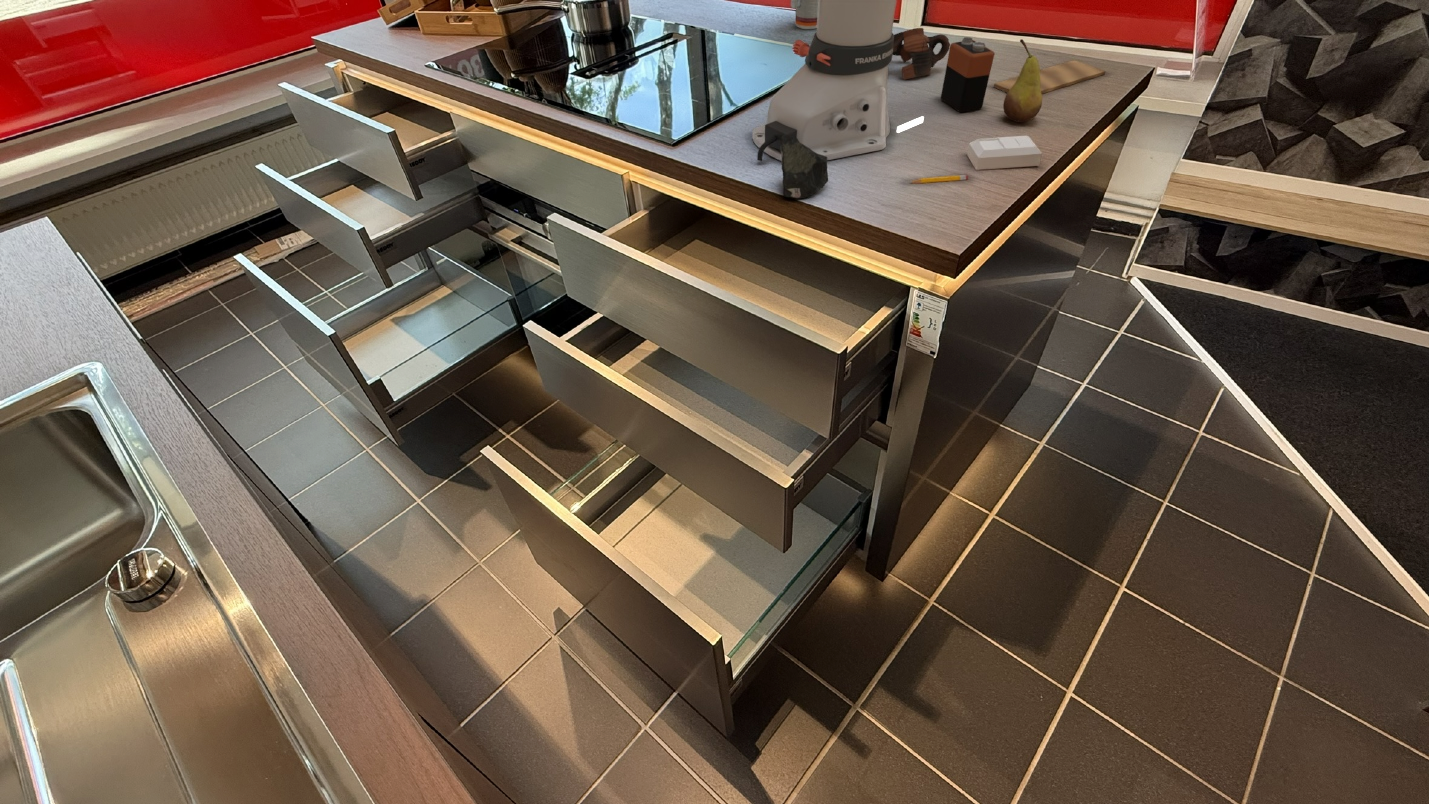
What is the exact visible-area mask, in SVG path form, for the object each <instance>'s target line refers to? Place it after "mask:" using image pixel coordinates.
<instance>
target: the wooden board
mask: <svg viewBox="0 0 1429 804" xmlns="http://www.w3.org/2000/svg"><path fill="white" fill-rule="evenodd" d="M1106 72H1107V70H1104V69H1102V68H1099V67H1096V66H1093V65H1090V64H1087V63H1084V62H1082V61H1079V60H1075V59H1073V60H1069V61H1066V62H1062V63H1059V64H1056V65H1052V66H1049V67H1045V68H1042V69H1040V90H1041V94H1042V95H1043V94H1045V93H1049V92H1052V91H1055V90H1059V89H1062V88H1065V87H1068V86H1071V85H1075V84H1078V83H1081V82H1085V81H1088V80H1091V79H1094V78H1097V77H1100V76H1104V75H1106ZM1018 77H1019V75H1018V76H1014V77H1012V78H1008V79H1005V80H1001V81H998V82H995V83H994V84H993V88H996V89H998V90H1000V91H1003V92H1004V93H1006V94H1007V93H1008V91H1009V90H1010V89H1011V88H1012V86H1013V85H1014V84H1015V82H1016V81H1017V79H1018Z"/></svg>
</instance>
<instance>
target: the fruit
mask: <svg viewBox="0 0 1429 804" xmlns="http://www.w3.org/2000/svg"><path fill="white" fill-rule="evenodd" d="M1019 43H1021V44H1022V46H1023V47H1024V50H1025V51H1026V54H1027V55H1028V57H1027V58H1026V59H1025V62H1024V64H1023V65H1022V68H1021V71H1020V72H1019V75H1018V76H1019V77H1018V76H1017V77H1018V79H1017V81H1016V82H1015V84H1014V85H1013V86H1012V88H1011V89H1010V90H1009V91H1008V93H1007V92H1006V95H1005V97H1004V101H1003V112H1004V114H1005V116H1006V117H1007V118H1008V119H1009V120H1011V121H1013V122H1017V123H1025V122H1028V121H1031V120H1032V119H1034V118H1035V117H1036V116H1037V115H1038V114H1039V112H1040V111H1041V108H1042V106H1043V94H1041V90H1040V70H1041V67H1040V63H1039V59H1038V58H1037V57H1036V55H1032V54H1031V53H1030V51H1029V49H1028V47H1027V45H1026V42H1025V41H1024V40H1023V38H1022V39H1020V40H1019Z"/></svg>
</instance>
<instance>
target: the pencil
mask: <svg viewBox="0 0 1429 804" xmlns="http://www.w3.org/2000/svg"><path fill="white" fill-rule="evenodd" d="M967 180H969V175H967V174H962V175H960V174H959V175H949V176H936V177H935V176H933V177H923V178H917V179H915V180H911V181H909V182H908V183H909V184H929V183H930V184H931V183H943V182H956V181H957V182H958V181H967Z"/></svg>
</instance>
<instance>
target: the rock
mask: <svg viewBox="0 0 1429 804" xmlns="http://www.w3.org/2000/svg"><path fill="white" fill-rule="evenodd" d="M781 159H782V161H781V172H782V186H783V190H782V191H783V192H782V193H783V198H793V199H805V198H808V197H811V196H813V195H815V194H816V192H818V191H820V190H821V189H823V188H824V187H825V186H826V184H827V183H828V182H829V174H828V160H827V157H826V156H824V155H821V154H817V153H816V152H814V151H812V150H811V149H810V148H808V147H807V146H805V145H803V144H802V143H800V142H799V140H798V139H797V138H796V137H794V136H791V135H783V136H782V138H781Z"/></svg>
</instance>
